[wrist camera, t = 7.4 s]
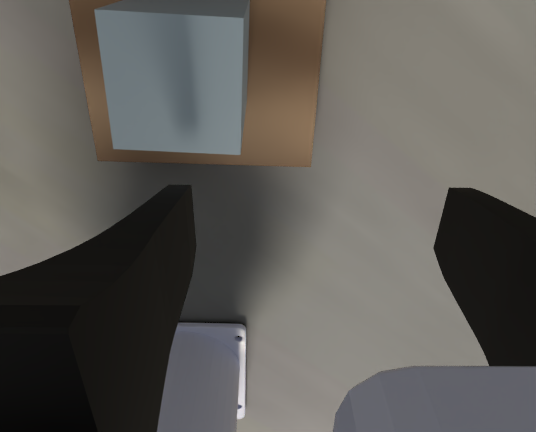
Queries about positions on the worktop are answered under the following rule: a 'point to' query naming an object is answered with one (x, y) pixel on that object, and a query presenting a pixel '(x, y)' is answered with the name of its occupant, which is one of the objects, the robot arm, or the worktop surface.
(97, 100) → the base
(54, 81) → the worktop surface
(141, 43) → the block
